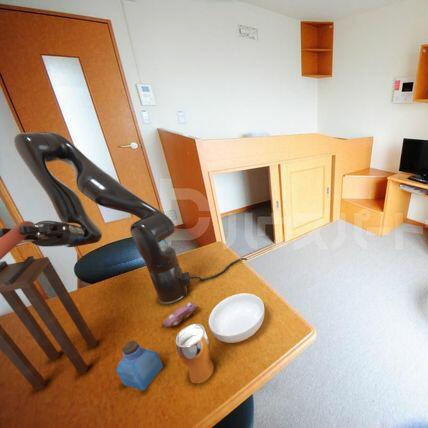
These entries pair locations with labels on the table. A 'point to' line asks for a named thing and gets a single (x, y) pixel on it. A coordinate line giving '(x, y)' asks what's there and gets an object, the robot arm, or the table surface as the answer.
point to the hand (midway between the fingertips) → (11, 231)
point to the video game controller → (179, 314)
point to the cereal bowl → (237, 317)
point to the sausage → (12, 238)
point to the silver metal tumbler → (195, 352)
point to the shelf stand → (23, 279)
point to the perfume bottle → (138, 366)
